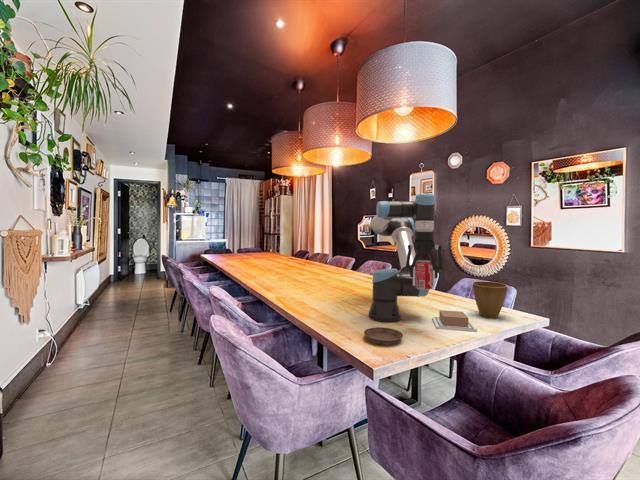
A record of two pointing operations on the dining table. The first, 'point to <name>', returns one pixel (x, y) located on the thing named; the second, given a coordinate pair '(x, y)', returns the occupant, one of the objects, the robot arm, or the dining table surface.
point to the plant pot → (489, 297)
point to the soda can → (423, 275)
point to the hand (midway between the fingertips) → (423, 285)
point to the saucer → (383, 335)
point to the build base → (453, 321)
